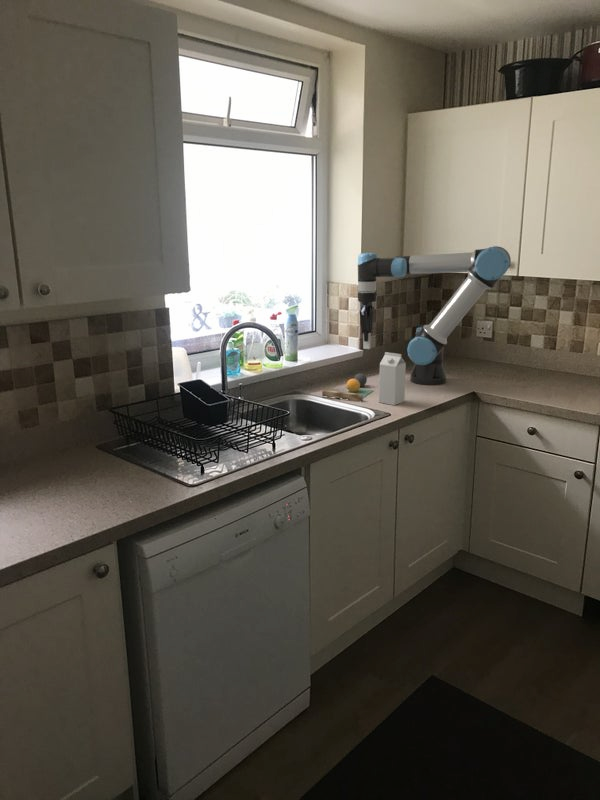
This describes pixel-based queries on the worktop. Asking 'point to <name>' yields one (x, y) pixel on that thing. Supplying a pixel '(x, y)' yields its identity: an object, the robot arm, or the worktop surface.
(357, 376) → the dark gray ball
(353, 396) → the rail
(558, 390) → the worktop surface
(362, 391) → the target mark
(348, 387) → the object ball
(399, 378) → the milk carton
